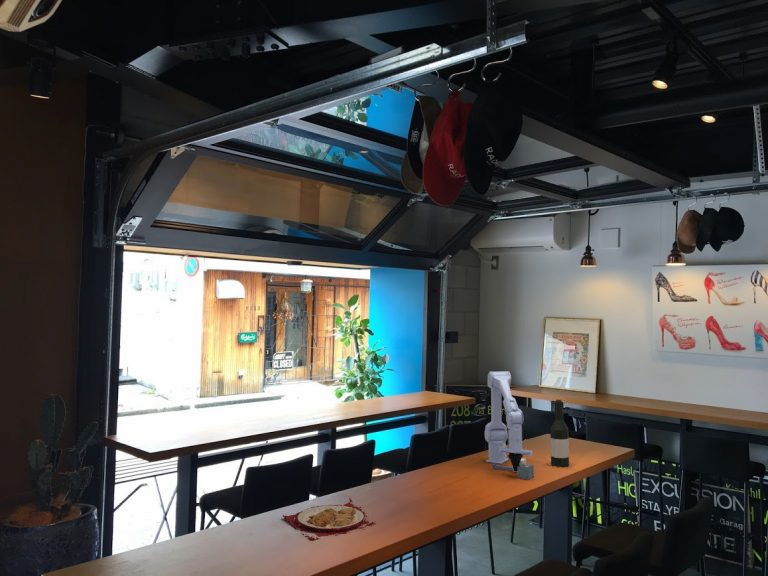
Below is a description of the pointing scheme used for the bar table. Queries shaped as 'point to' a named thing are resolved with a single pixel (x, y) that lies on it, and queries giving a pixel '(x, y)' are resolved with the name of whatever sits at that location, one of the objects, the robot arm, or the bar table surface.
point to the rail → (502, 467)
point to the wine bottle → (559, 438)
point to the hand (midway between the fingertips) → (515, 470)
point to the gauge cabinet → (525, 471)
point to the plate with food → (329, 519)
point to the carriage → (521, 462)
